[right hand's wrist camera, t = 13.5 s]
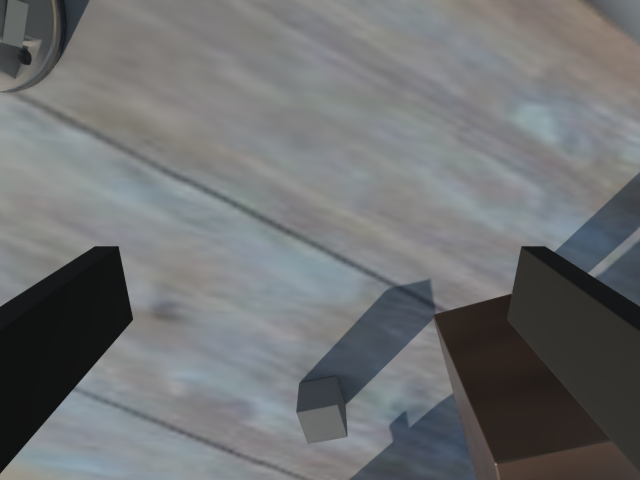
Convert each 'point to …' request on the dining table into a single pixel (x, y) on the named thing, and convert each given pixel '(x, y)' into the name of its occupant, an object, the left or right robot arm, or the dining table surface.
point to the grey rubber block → (321, 410)
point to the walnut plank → (519, 404)
